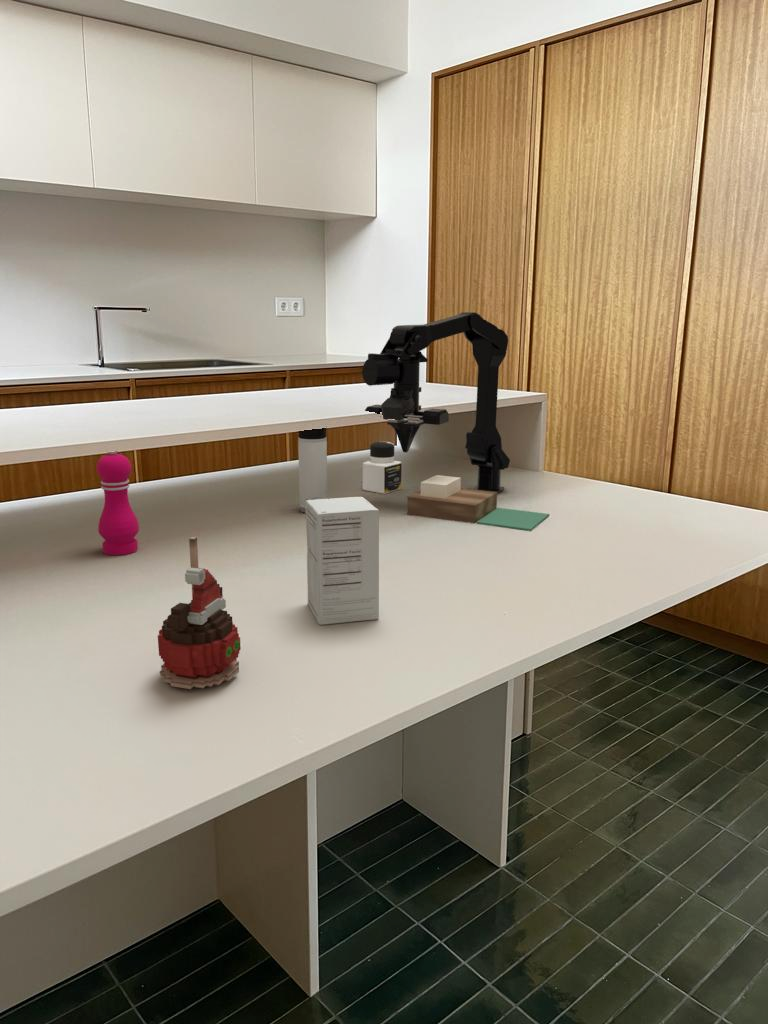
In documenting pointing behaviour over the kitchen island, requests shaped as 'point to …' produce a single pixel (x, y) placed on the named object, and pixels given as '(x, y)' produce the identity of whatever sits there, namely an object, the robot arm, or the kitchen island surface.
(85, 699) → the kitchen island surface
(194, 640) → the cake
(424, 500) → the deck
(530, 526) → the mat
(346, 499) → the supplement box
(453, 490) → the block
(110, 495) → the pepper mill
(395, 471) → the medicine bottle
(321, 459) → the travel mug
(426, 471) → the kitchen island surface
